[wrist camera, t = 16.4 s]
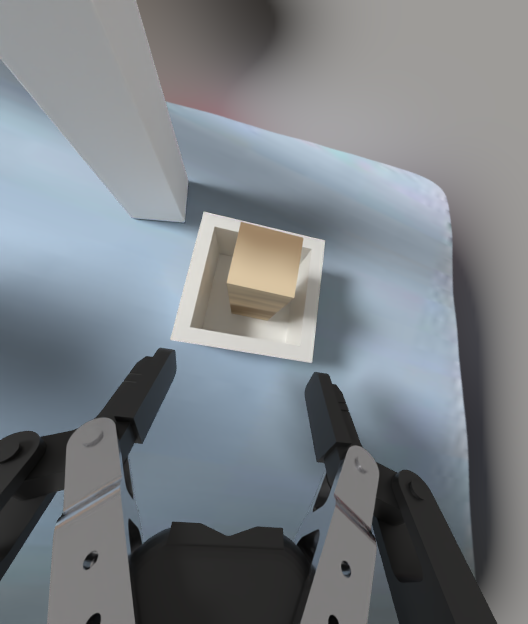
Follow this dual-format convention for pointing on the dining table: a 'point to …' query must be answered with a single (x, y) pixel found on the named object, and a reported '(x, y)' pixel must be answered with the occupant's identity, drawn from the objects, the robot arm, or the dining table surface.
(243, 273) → the beech post
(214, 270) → the white well
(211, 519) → the dining table surface
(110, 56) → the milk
